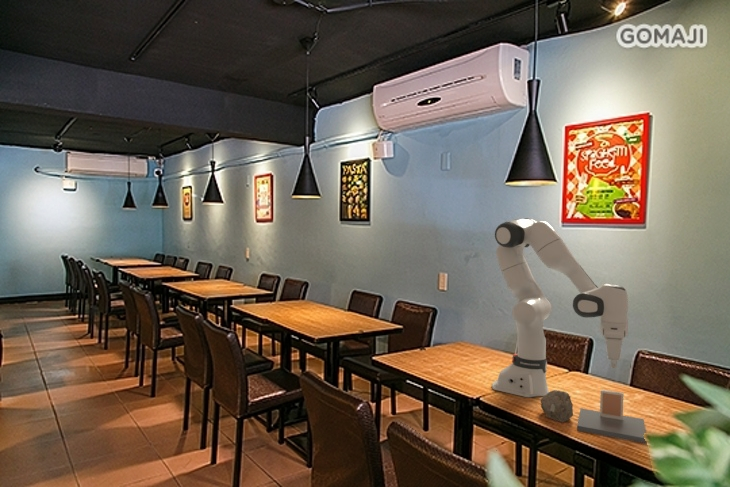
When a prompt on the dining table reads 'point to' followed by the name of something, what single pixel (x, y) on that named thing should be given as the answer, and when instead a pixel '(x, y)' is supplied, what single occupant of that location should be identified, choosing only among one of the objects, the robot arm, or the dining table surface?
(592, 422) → the board
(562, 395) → the rock
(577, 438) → the dining table surface
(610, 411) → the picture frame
